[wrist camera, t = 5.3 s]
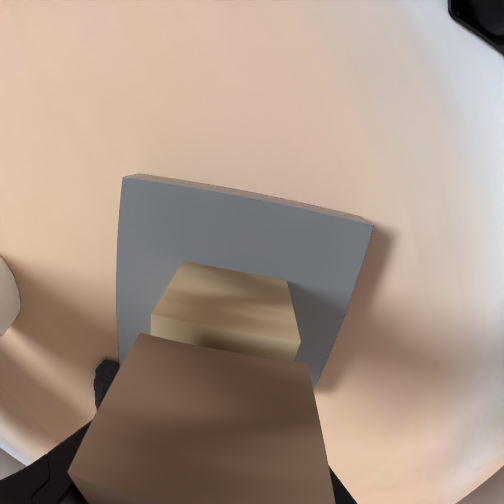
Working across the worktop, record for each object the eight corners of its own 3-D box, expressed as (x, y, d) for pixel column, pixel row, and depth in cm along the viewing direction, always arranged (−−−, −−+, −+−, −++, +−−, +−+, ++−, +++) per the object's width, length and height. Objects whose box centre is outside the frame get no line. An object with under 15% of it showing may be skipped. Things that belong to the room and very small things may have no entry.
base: (360, 216, 15) (373, 225, 13) (302, 386, 19) (305, 406, 17) (138, 173, 15) (122, 176, 13) (130, 354, 18) (120, 373, 17)
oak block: (286, 280, 14) (300, 341, 10) (264, 360, 16) (267, 429, 11) (183, 260, 14) (150, 313, 9) (175, 344, 16) (151, 409, 11)
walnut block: (307, 362, 8) (337, 515, 4) (269, 450, 10) (271, 559, 5) (140, 332, 8) (67, 472, 3) (144, 429, 10) (111, 533, 5)
